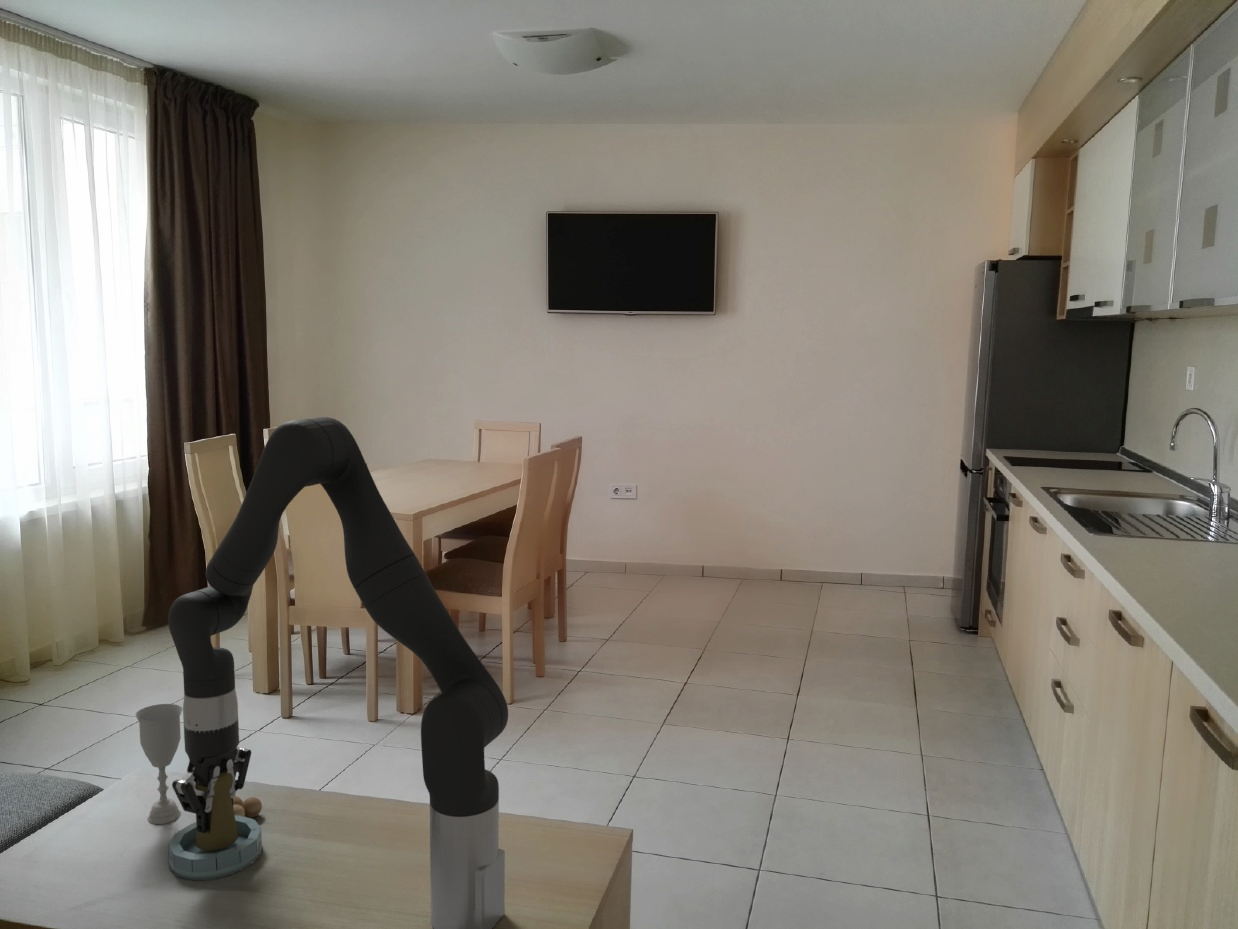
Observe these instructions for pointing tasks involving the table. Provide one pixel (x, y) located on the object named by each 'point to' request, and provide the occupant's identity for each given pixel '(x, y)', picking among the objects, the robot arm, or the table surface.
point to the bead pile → (247, 807)
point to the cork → (219, 817)
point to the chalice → (161, 752)
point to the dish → (214, 852)
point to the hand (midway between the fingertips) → (215, 826)
